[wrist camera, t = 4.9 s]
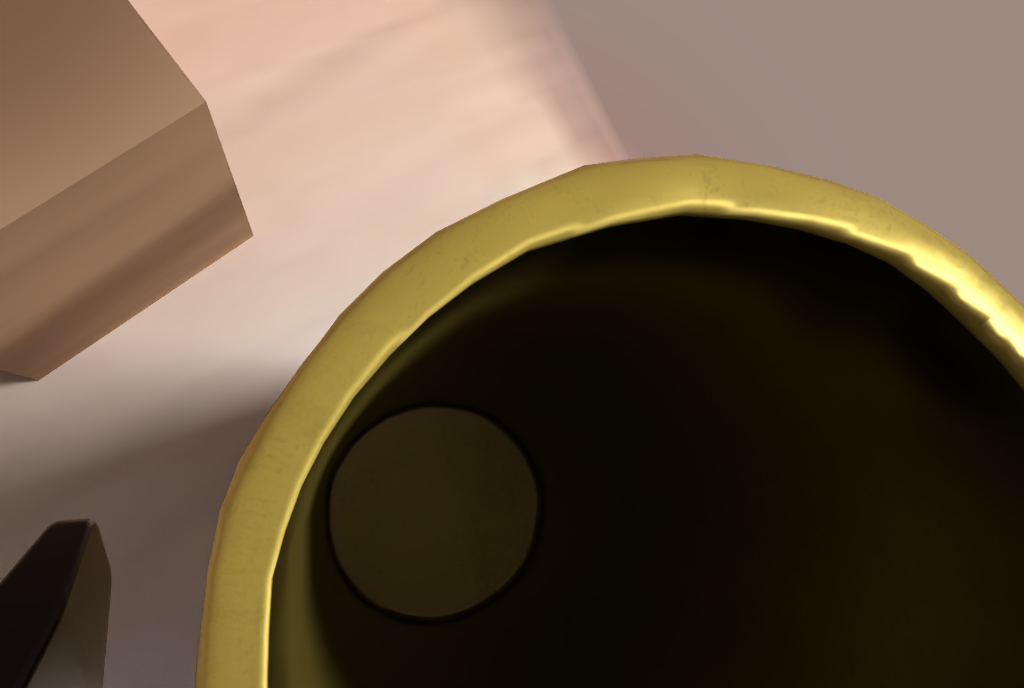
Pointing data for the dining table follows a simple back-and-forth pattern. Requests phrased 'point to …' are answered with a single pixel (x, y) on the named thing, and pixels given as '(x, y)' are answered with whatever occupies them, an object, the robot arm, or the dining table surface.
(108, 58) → the walnut block
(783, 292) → the vase
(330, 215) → the dining table surface
